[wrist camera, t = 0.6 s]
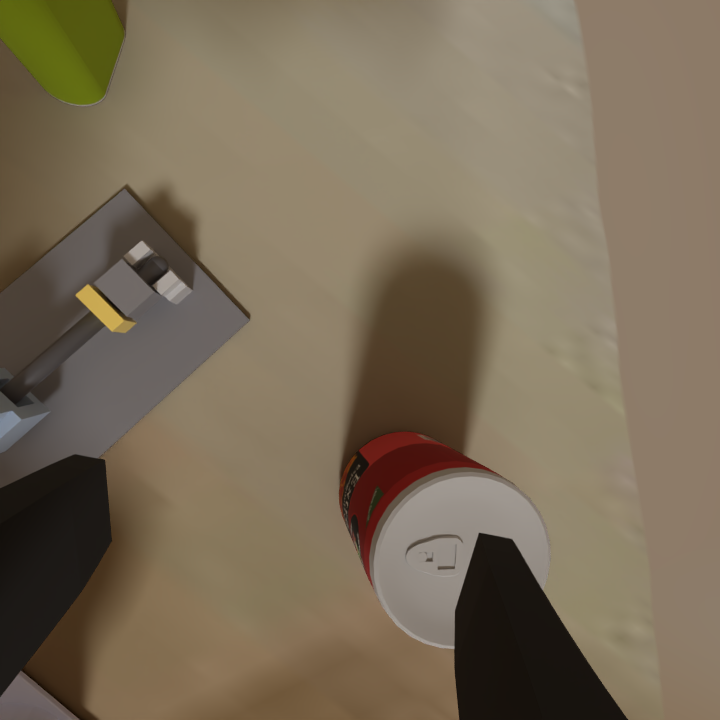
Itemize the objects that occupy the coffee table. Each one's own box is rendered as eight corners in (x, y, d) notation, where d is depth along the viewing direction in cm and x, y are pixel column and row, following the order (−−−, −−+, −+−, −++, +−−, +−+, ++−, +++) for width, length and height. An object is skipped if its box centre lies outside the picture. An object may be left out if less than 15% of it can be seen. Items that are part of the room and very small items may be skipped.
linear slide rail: (-36, 579, 28) (-89, 620, 23) (-185, 451, 26) (-270, 470, 22) (249, 320, 30) (246, 315, 26) (126, 190, 29) (101, 163, 24)
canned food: (325, 445, 31) (354, 498, 20) (446, 415, 32) (535, 449, 22) (350, 564, 31) (392, 677, 21) (469, 529, 33) (567, 619, 22)
